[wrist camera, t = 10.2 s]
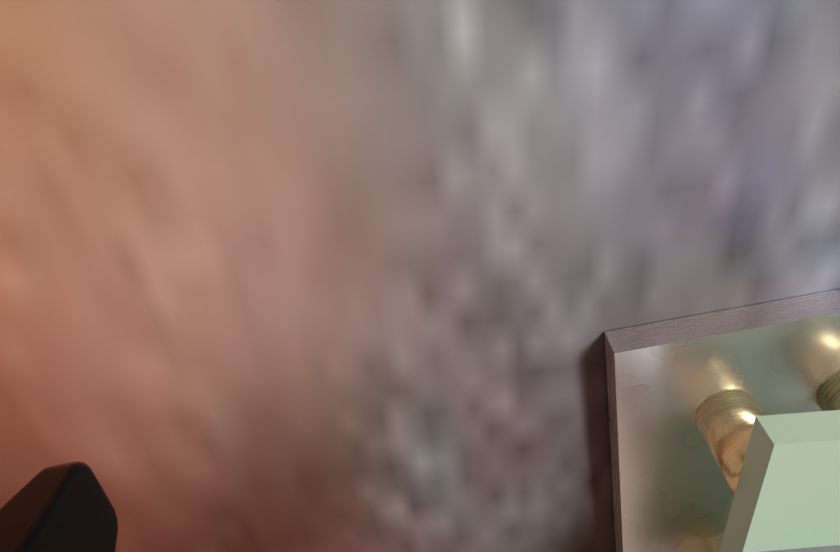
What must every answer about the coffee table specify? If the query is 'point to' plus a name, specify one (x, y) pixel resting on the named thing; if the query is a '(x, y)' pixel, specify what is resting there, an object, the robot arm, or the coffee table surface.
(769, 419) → the grey block
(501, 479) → the coffee table surface
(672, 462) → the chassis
